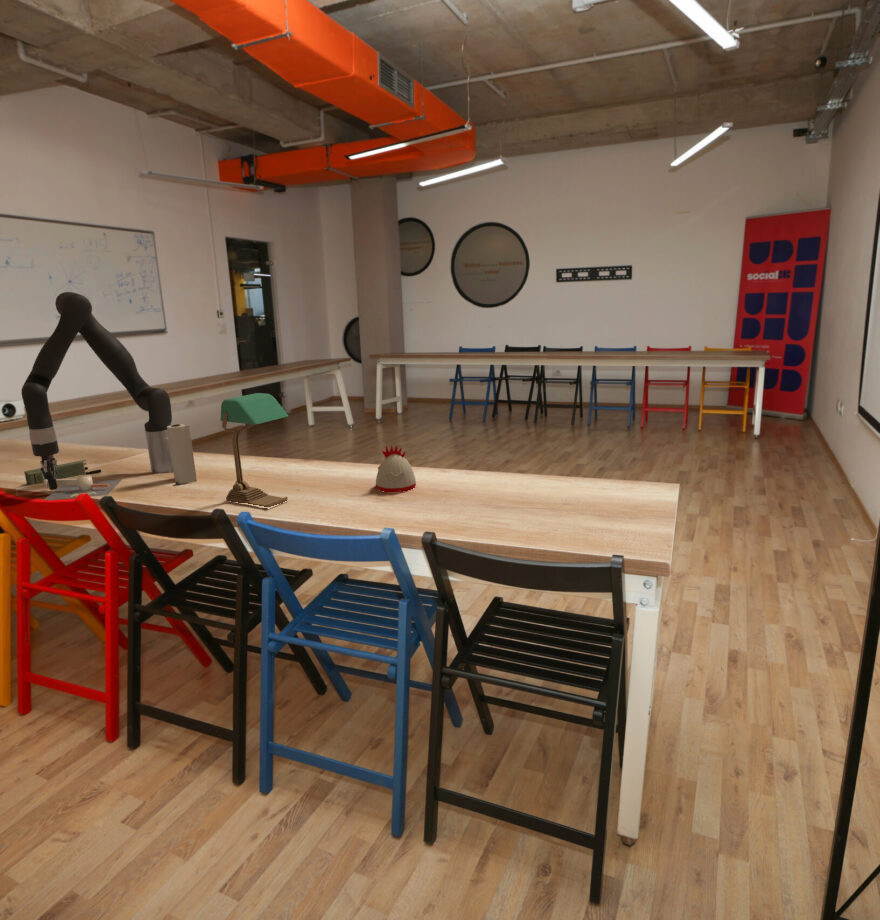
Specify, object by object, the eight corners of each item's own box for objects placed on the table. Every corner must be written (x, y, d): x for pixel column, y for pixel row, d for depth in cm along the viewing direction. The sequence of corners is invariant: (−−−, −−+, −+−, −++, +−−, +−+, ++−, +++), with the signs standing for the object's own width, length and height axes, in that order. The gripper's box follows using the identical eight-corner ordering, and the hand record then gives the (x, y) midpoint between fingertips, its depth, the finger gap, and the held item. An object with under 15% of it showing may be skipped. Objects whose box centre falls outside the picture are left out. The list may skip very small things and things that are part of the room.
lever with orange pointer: (112, 486, 220) (110, 475, 219) (105, 490, 216) (103, 478, 215) (52, 487, 221) (50, 476, 220) (44, 491, 217) (42, 479, 215)
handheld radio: (27, 487, 228) (100, 473, 245) (29, 489, 226) (102, 474, 243) (23, 470, 227) (97, 456, 243) (25, 472, 224) (100, 458, 241)
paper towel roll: (172, 482, 228) (163, 425, 223) (188, 478, 233) (180, 422, 227) (181, 485, 224) (172, 428, 218) (197, 481, 228) (189, 425, 222)
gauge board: (122, 482, 231) (122, 478, 230) (107, 498, 212) (107, 494, 212) (64, 487, 227) (63, 483, 226) (43, 504, 208) (42, 499, 207)
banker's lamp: (254, 491, 215) (242, 390, 206) (299, 499, 204) (289, 394, 195) (217, 504, 201) (203, 398, 192) (263, 513, 191) (251, 402, 182)
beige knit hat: (376, 482, 221) (373, 441, 217) (414, 480, 222) (413, 439, 218) (375, 494, 207) (373, 450, 203) (416, 491, 208) (415, 448, 204)
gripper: (35, 438, 214) (45, 485, 219) (26, 445, 202) (37, 496, 207) (60, 435, 217) (69, 482, 221) (52, 443, 205) (62, 493, 209)
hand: (53, 489), depth 214 cm, fingers closed
